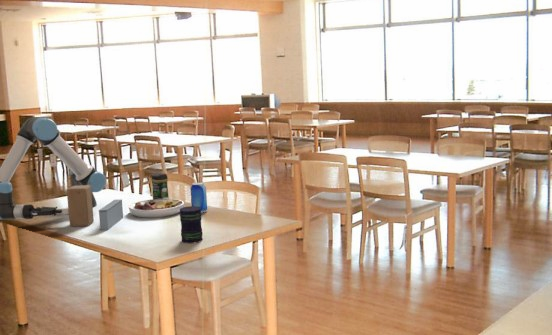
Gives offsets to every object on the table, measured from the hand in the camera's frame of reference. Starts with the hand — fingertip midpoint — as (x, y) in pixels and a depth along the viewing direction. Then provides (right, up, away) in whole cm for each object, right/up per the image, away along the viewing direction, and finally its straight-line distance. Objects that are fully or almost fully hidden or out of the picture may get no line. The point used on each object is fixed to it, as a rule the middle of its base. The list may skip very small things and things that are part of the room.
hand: (68, 210), depth 342 cm
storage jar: (+69, -11, -38) cm, 80 cm away
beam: (+23, -7, 0) cm, 24 cm away
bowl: (+42, -3, +23) cm, 48 cm away
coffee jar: (+40, +1, +46) cm, 61 cm away
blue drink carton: (+66, -2, +20) cm, 69 cm away
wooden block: (+7, -7, +1) cm, 10 cm away
